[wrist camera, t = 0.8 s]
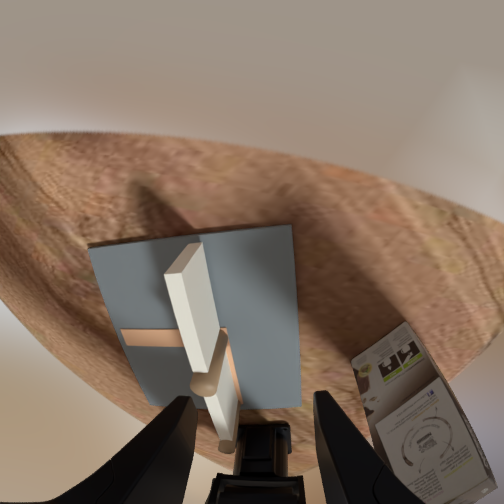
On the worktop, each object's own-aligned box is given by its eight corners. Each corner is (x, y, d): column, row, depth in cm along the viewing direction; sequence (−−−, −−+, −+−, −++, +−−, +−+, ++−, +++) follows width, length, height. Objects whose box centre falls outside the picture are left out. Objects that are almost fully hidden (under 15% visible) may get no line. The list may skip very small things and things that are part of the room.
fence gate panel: (219, 328, 22) (207, 372, 17) (207, 328, 22) (193, 372, 17) (202, 242, 19) (181, 273, 15) (188, 243, 20) (163, 274, 15)
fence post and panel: (244, 406, 26) (238, 454, 20) (226, 406, 26) (217, 453, 20) (226, 327, 22) (213, 379, 17) (204, 328, 22) (186, 378, 17)
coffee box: (346, 361, 23) (385, 531, 8) (406, 317, 22) (492, 477, 6) (389, 401, 25) (427, 529, 10) (439, 366, 23) (499, 489, 8)
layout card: (301, 403, 26) (301, 407, 25) (151, 402, 27) (150, 405, 27) (290, 224, 19) (291, 225, 19) (90, 247, 21) (86, 249, 21)
